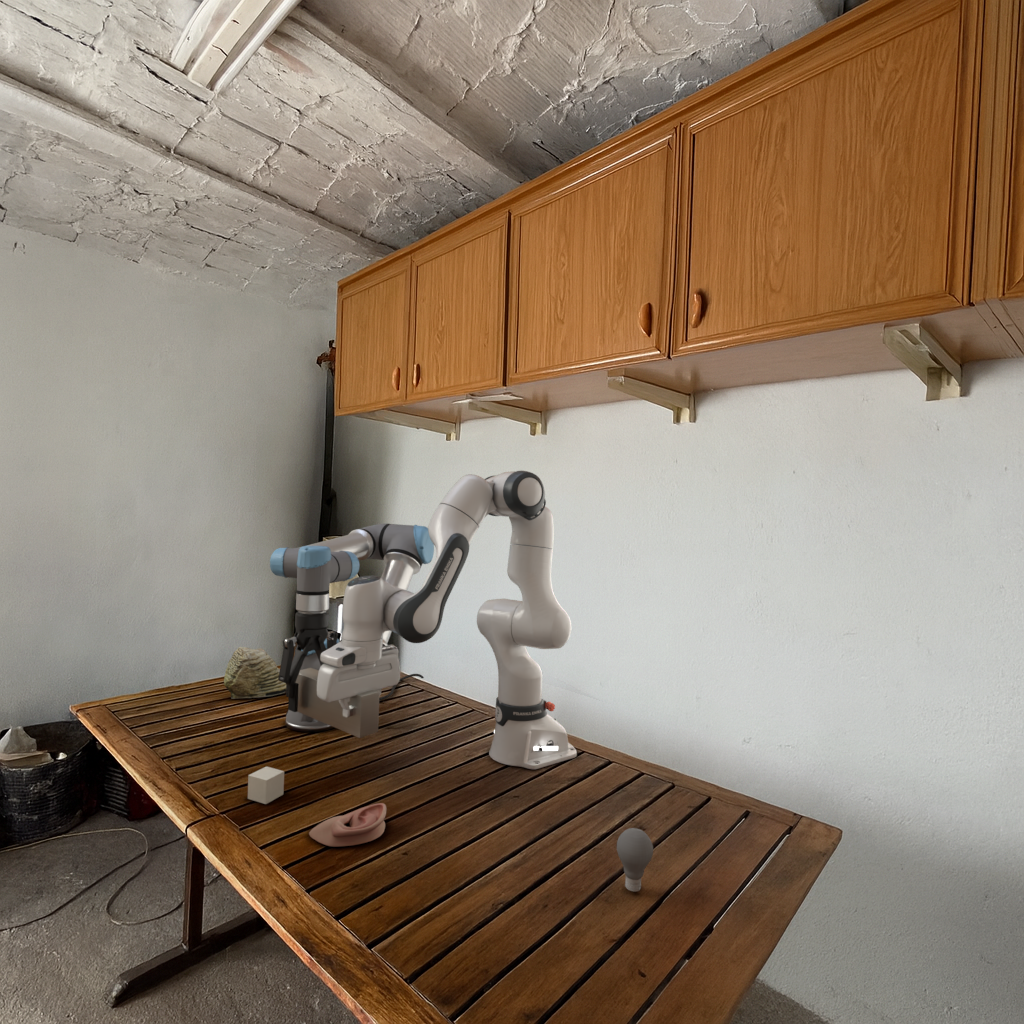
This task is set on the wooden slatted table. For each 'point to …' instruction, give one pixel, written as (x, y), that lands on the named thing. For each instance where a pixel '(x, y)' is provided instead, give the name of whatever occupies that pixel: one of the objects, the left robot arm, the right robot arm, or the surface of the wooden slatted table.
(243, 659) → the fossil
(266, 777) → the plastic block
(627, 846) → the light bulb
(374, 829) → the anatomical model
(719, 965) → the wooden slatted table surface
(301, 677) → the beam
